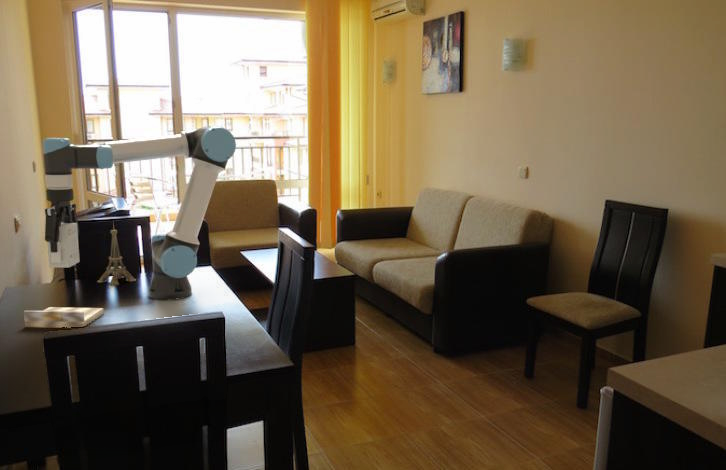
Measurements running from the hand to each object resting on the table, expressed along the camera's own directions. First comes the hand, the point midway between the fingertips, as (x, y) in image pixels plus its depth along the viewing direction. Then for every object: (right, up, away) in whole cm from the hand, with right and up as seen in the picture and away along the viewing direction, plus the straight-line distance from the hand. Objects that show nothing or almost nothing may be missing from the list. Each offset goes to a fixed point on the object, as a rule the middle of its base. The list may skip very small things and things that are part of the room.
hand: (64, 259), depth 183 cm
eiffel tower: (-4, -11, +49) cm, 51 cm away
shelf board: (0, -20, +1) cm, 20 cm away
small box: (0, -2, 0) cm, 2 cm away
